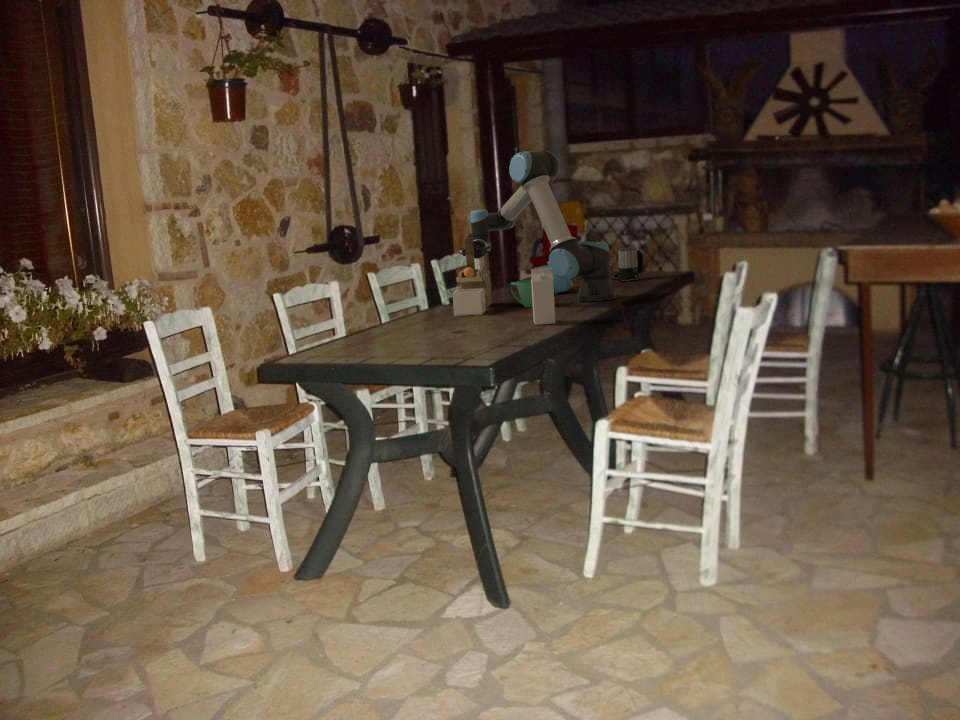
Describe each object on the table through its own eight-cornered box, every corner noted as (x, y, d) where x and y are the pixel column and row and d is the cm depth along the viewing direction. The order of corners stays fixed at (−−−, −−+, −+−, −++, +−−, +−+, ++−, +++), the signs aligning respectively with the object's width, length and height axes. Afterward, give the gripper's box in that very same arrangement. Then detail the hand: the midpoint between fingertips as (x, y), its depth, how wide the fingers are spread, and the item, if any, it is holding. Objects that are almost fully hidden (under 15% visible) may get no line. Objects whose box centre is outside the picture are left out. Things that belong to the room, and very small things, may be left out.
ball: (475, 276, 369) (475, 267, 370) (466, 274, 367) (467, 264, 368) (470, 280, 372) (470, 270, 374) (461, 277, 370) (461, 268, 372)
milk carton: (533, 322, 338) (530, 268, 334) (553, 320, 338) (550, 266, 334) (535, 325, 331) (531, 270, 327) (555, 323, 331) (552, 268, 327)
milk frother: (634, 282, 430) (633, 249, 428) (602, 282, 439) (600, 249, 436) (646, 278, 442) (644, 245, 439) (614, 278, 450) (613, 246, 448)
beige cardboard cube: (458, 312, 376) (457, 289, 374) (485, 310, 374) (484, 287, 372) (454, 316, 365) (452, 293, 363) (482, 315, 363) (480, 291, 362)
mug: (547, 304, 378) (546, 279, 376) (534, 308, 370) (532, 282, 369) (517, 303, 387) (515, 279, 385) (503, 307, 379) (501, 282, 377)
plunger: (465, 274, 379) (462, 232, 376) (478, 274, 378) (475, 231, 375) (463, 276, 375) (460, 233, 371) (477, 275, 374) (473, 232, 371)
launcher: (467, 304, 395) (464, 267, 392) (491, 303, 394) (488, 265, 391) (458, 312, 374) (455, 273, 371) (484, 311, 372) (481, 271, 369)
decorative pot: (536, 297, 405) (535, 264, 402) (530, 292, 420) (528, 261, 418) (574, 293, 406) (573, 261, 403) (567, 289, 422) (565, 258, 419)
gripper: (493, 256, 399) (485, 262, 376) (463, 258, 401) (453, 264, 379) (492, 238, 398) (484, 243, 375) (461, 240, 400) (451, 245, 377)
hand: (468, 254), depth 377 cm, fingers closed
